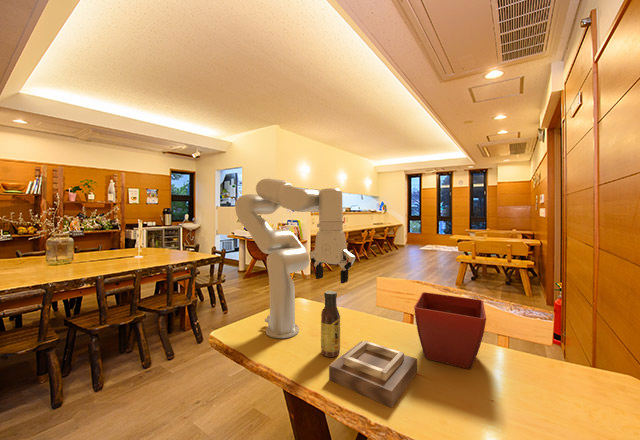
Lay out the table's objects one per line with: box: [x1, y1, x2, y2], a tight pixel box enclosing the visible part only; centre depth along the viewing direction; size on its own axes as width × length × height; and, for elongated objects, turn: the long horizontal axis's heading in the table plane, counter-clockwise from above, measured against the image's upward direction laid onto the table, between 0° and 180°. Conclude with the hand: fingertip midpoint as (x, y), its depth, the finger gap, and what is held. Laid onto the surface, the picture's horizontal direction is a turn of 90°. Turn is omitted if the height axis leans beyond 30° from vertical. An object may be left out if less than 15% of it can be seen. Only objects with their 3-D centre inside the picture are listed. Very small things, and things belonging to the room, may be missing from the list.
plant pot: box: [413, 291, 487, 370], centre depth 89 cm, size 19×19×17 cm
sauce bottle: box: [320, 290, 341, 358], centre depth 90 cm, size 6×6×20 cm
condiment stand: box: [328, 340, 418, 409], centre depth 78 cm, size 18×18×6 cm
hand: (331, 280), depth 89 cm, fingers open, 9 cm apart
